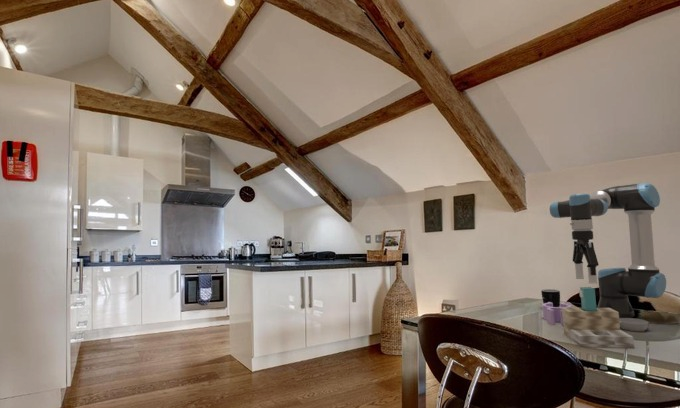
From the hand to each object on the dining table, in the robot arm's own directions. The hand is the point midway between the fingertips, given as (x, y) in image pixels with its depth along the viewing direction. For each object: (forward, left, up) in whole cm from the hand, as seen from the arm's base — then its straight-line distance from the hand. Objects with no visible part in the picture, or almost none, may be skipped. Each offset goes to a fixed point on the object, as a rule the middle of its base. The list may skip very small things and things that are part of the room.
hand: (586, 281), depth 157 cm
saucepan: (-18, -13, -23) cm, 32 cm away
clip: (+4, -28, -23) cm, 36 cm away
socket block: (0, +5, -23) cm, 23 cm away
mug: (0, -52, -23) cm, 57 cm away
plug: (0, 0, -15) cm, 15 cm away
